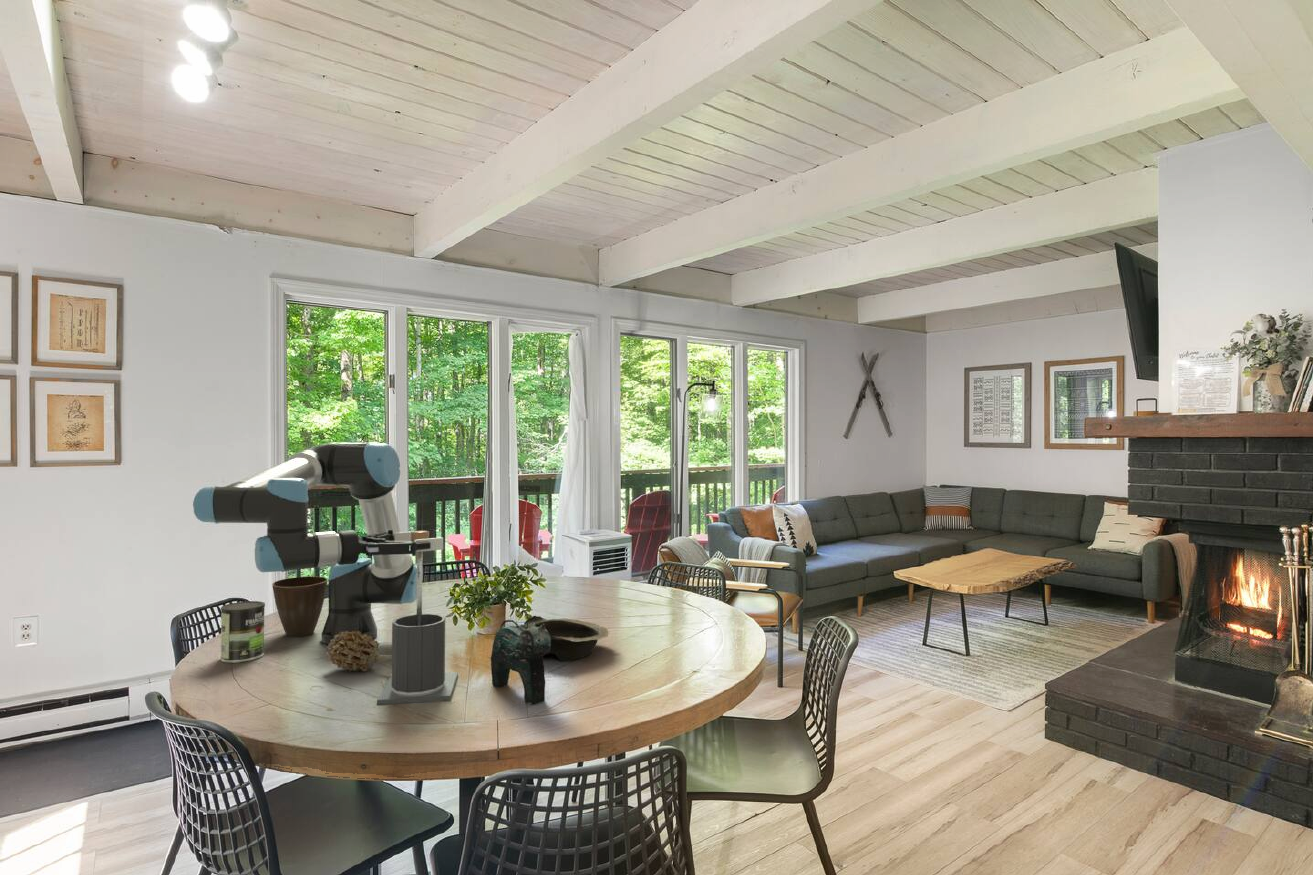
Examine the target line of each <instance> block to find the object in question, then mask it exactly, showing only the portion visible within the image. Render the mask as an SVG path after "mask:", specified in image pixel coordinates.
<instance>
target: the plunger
mask: <svg viewBox="0 0 1313 875" xmlns="http://www.w3.org/2000/svg"><path fill="white" fill-rule="evenodd" d="M410 532H411V541H414V540H418V539H430V531H429V530H415V531H414V530H413V532H412V531H410ZM423 553H424V551H423V552H416V563H417V599H416V614H417V625H416V626H422V614H423V579H422V568H423V556H424V555H423Z"/></svg>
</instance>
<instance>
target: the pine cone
mask: <svg viewBox="0 0 1313 875" xmlns="http://www.w3.org/2000/svg"><path fill="white" fill-rule="evenodd" d="M330 641H331V643H330V644H327V646H326V648H327V650H328V651H327V652H326V656H328V658H327V660H328V661H330V662H331V664H332V665H337V668H338V669H341V670H346V669H348V670H349V671H355V672H357V671H362V672H367V671H368V670H370V667H372V666H373V664H374V663H375V664H376V663H377V662H380V661H392V654H387V655H386V654H381V653H380V652H379V646H380V644H379V643H380V642H378V640H375V639H372V637H371V636H367V635H366V634H364V635H362V634H361V632H360V631H358V632H356V631H352V632H348V631H345V632H340V633H339V635H335V636H334V639H332V640H330Z"/></svg>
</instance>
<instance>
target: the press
mask: <svg viewBox="0 0 1313 875" xmlns="http://www.w3.org/2000/svg"><path fill="white" fill-rule="evenodd" d="M416 625H417V613H415V614H408V615H403V616H399V617H398V618H394V619H393V621H392V622H391V628H392V630H391V632H392V633H391V655H392V660H391V675H390V677H389V678H388V680H387V682H386V683H385V685H384V687H383V689H382V691H381V692H380V694H379V696H378V697H377V700H376V705H386V704H387V705H388V704H405V703H406V704H407V703H422V702H436V701H437V702H440V701H451V700H452V696H453V692H454V689H455V687H456V684H457V679H458V673H459V672H457V671H455V672H454V671H453V672H451V671H450V672H445V671H446V616H444V615H442V614H437V613H436V614H435V613H422V626H416Z"/></svg>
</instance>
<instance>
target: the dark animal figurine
mask: <svg viewBox="0 0 1313 875" xmlns="http://www.w3.org/2000/svg"><path fill="white" fill-rule="evenodd" d="M523 613H524V614H525V615H526V620H527V628H526V629H525V628H524V627H521V626H519V624H518V623H517V622H516V621H515V620H512V619H506V620H504V621H503V622H502V623H501V624H500V627H499V629H498V630H497V631H496V633H495V636H494V638H493V642H492V649H491V655H490V666H491V667H490V670H491V671H490V672H491V681H492V682H491V683H492V685H493V686H494V687H496V688H498V689H500V688H503V687H507V686H508V683H509V680H510V673H511V671H513V672H516V673H518V675H519V676H520V680H521V682H522V684H523V691H524V692H523V693H524V696H523V698H524V699H523V700H524V702H525V703H529V704H530V705H532V706H533V705H537V704H540V703H543V702H545V698H546V695H545V694H546V678H545V676H546V675H545V673H546V672H545V664H544V656H543V655H544V654H546V653H548V652H549V651H550V648H551V638H550V635H549V633H548V631H547V630H546V629H545V624H542V625H541V626H540V627H536V626H535V622H534V623H533V624H532V626H531V628H528V618H529V614H528V613H527V611H526V610H521V611H520V613H519V616H521V615H522V614H523ZM506 623H513V624H514V625H508V626H504V625H505V624H506ZM503 626H504V627H503Z"/></svg>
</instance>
